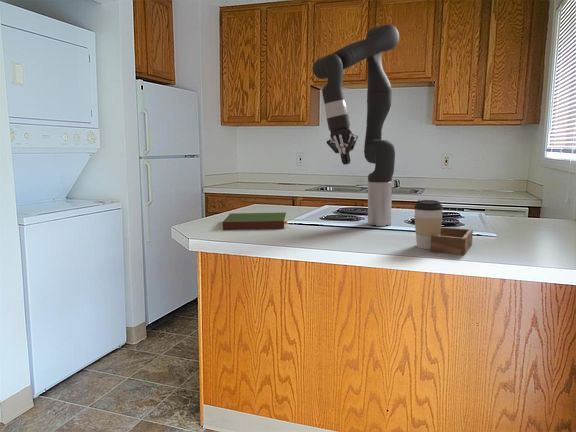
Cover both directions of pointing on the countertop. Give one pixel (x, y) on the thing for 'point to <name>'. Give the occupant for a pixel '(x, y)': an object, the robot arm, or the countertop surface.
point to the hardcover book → (254, 221)
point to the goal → (452, 241)
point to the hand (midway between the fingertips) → (346, 164)
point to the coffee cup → (427, 221)
